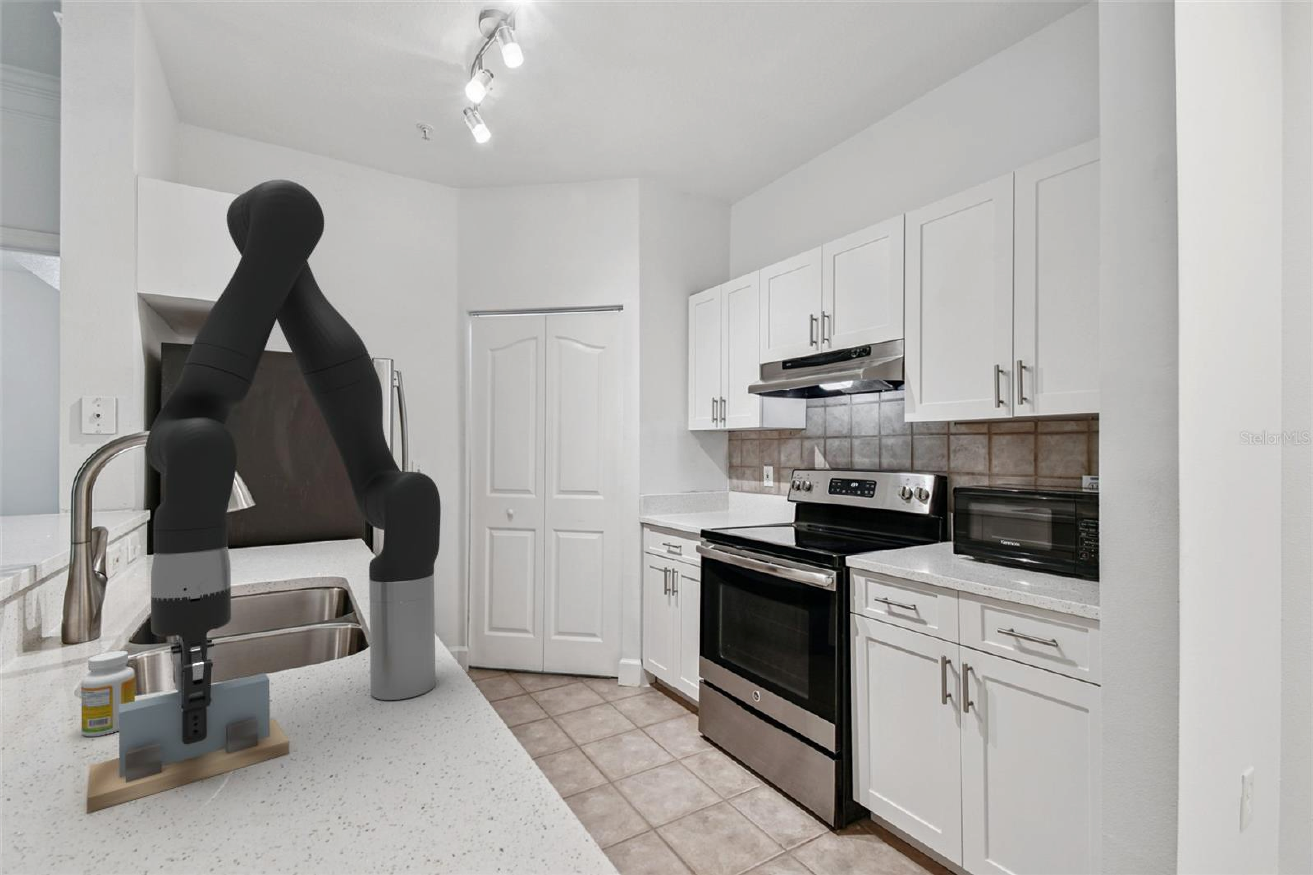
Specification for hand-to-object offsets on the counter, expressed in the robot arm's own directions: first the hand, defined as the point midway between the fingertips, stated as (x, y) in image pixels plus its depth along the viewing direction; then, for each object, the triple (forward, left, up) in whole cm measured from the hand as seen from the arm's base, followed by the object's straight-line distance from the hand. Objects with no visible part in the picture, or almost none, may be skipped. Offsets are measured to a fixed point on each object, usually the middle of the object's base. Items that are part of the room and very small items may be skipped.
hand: (193, 734), depth 72 cm
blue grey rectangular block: (0, 0, -2) cm, 2 cm away
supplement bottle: (-11, -19, -4) cm, 22 cm away
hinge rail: (0, 0, -4) cm, 4 cm away
